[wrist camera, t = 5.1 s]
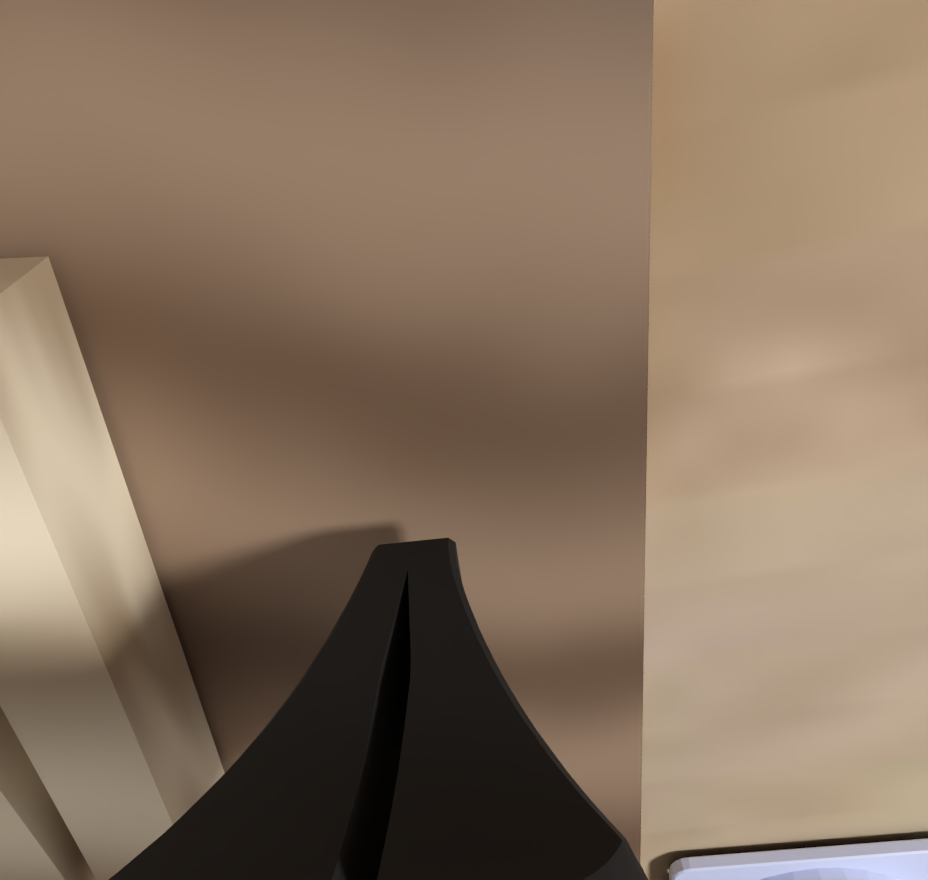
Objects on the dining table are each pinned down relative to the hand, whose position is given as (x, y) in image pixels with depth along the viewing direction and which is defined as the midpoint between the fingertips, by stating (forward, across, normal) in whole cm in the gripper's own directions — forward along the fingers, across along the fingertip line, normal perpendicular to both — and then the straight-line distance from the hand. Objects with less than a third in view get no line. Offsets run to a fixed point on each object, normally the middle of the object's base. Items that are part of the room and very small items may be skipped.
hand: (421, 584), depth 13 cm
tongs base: (+2, +5, +3) cm, 6 cm away
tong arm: (+1, +6, 0) cm, 6 cm away
